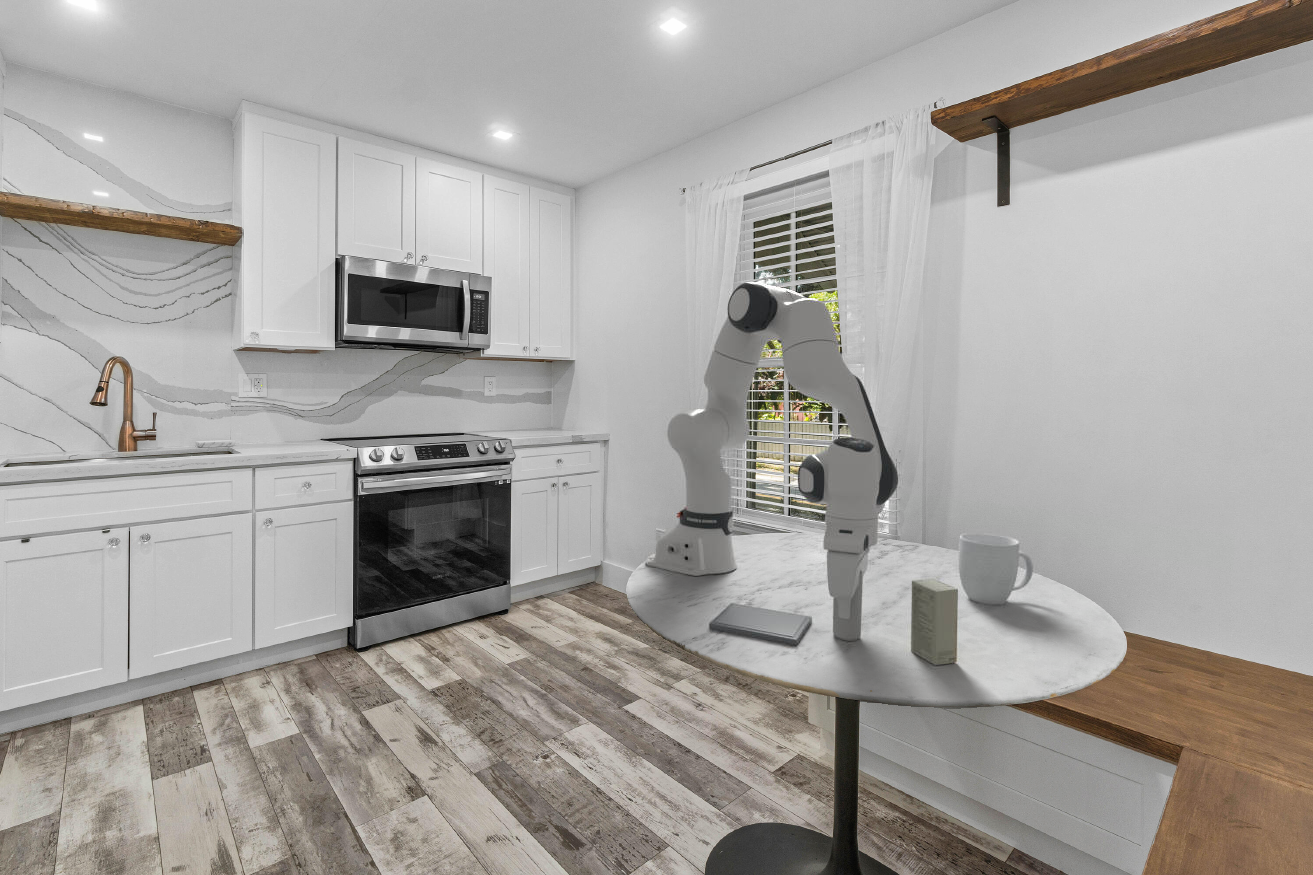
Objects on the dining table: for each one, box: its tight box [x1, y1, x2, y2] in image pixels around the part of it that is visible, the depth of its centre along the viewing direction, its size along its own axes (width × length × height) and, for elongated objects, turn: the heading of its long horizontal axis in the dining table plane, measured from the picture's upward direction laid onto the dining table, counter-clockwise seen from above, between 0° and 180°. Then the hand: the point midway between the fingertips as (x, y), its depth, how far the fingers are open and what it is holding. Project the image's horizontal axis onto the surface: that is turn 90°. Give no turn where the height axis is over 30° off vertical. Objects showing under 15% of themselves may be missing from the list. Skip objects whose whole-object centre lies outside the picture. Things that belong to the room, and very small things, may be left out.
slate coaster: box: [708, 602, 813, 646], centre depth 113 cm, size 16×12×1 cm
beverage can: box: [832, 571, 864, 642], centre depth 108 cm, size 5×5×12 cm
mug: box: [958, 532, 1034, 606], centre depth 128 cm, size 15×11×13 cm
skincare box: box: [910, 578, 959, 666], centre depth 100 cm, size 6×4×12 cm
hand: (848, 608), depth 108 cm, fingers open, 8 cm apart
